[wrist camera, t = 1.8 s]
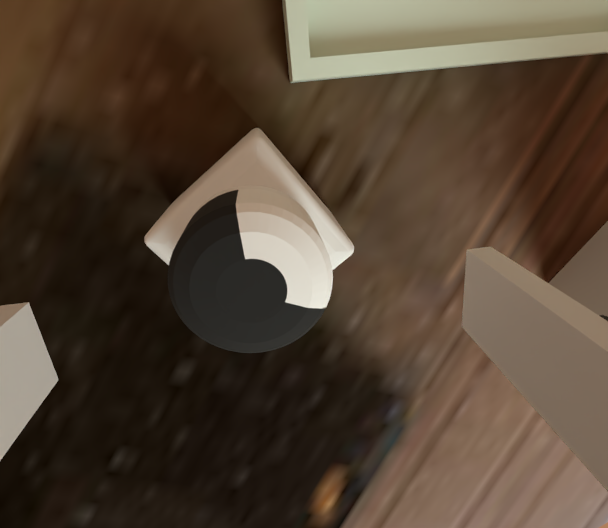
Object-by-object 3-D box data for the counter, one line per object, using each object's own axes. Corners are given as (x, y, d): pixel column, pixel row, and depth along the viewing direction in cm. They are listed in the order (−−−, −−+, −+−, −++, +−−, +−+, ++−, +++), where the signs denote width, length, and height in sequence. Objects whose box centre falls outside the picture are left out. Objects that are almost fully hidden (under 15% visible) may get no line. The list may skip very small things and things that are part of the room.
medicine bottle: (250, 283, 27) (246, 407, 16) (169, 204, 25) (100, 286, 14) (332, 214, 26) (389, 296, 15) (257, 124, 24) (258, 143, 13)
